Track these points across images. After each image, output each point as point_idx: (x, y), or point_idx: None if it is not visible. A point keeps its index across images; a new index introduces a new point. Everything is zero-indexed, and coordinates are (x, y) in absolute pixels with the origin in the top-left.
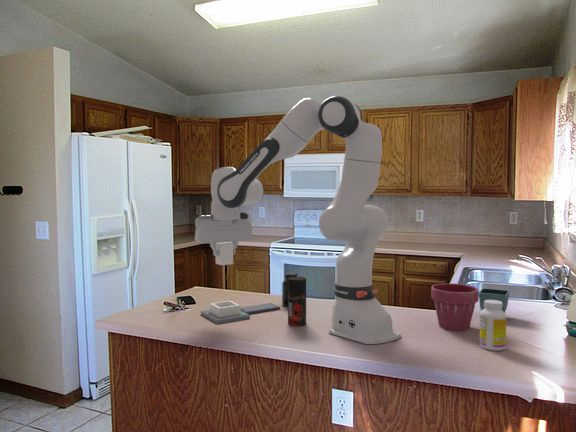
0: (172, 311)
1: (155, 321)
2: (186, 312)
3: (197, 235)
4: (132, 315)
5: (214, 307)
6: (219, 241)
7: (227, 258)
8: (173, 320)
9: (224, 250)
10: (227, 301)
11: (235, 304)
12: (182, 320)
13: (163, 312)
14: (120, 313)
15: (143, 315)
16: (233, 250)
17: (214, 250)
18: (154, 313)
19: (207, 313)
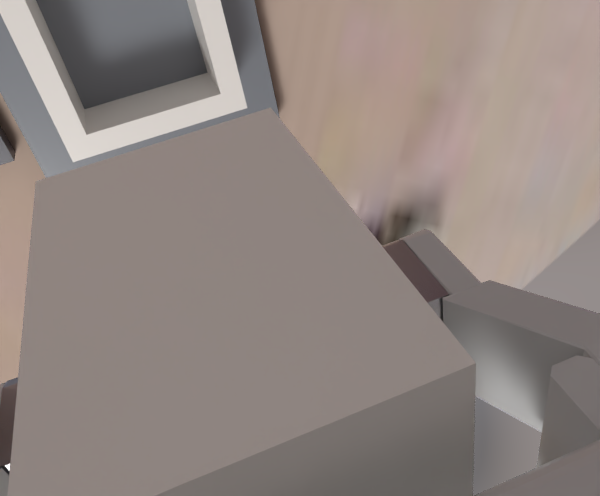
0: (402, 213)
1: (528, 39)
2: (343, 180)
3: None
4: (570, 180)
5: (220, 7)
6: (577, 468)
7: (164, 200)
8: (446, 28)
9: (284, 281)
10: (99, 136)
11: (29, 9)
12: (403, 10)
13: (444, 203)
14: (594, 221)
15: (534, 170)
16: (5, 441)
17: (491, 301)
18: (483, 194)
19: (251, 51)
